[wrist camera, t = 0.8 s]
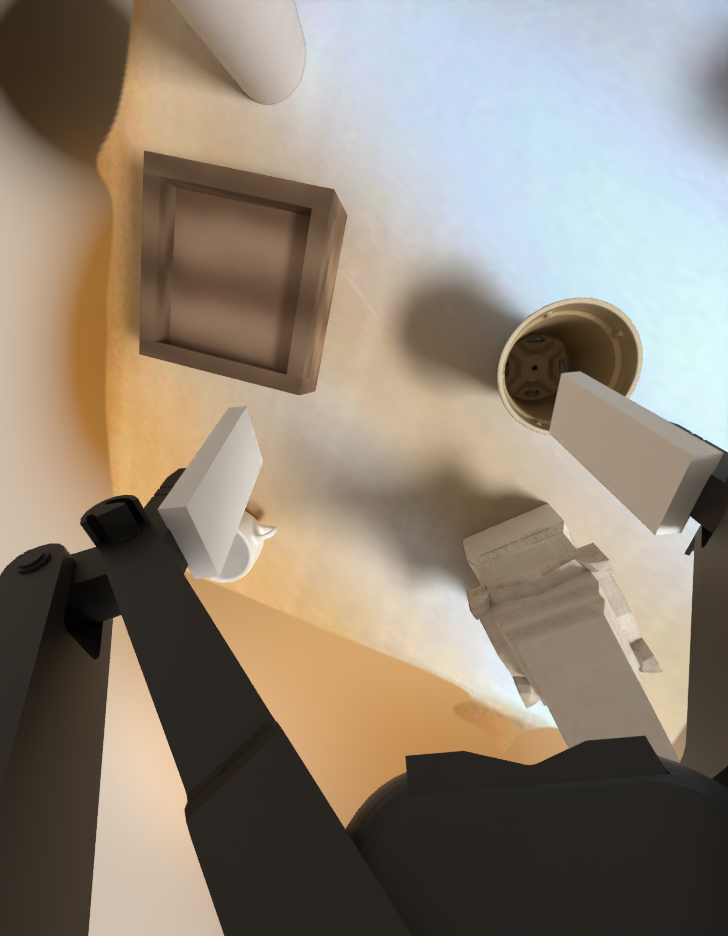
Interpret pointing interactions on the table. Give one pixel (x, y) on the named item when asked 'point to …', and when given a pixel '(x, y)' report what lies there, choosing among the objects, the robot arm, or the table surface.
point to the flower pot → (567, 356)
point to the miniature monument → (563, 629)
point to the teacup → (244, 548)
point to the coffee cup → (252, 42)
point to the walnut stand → (237, 271)
